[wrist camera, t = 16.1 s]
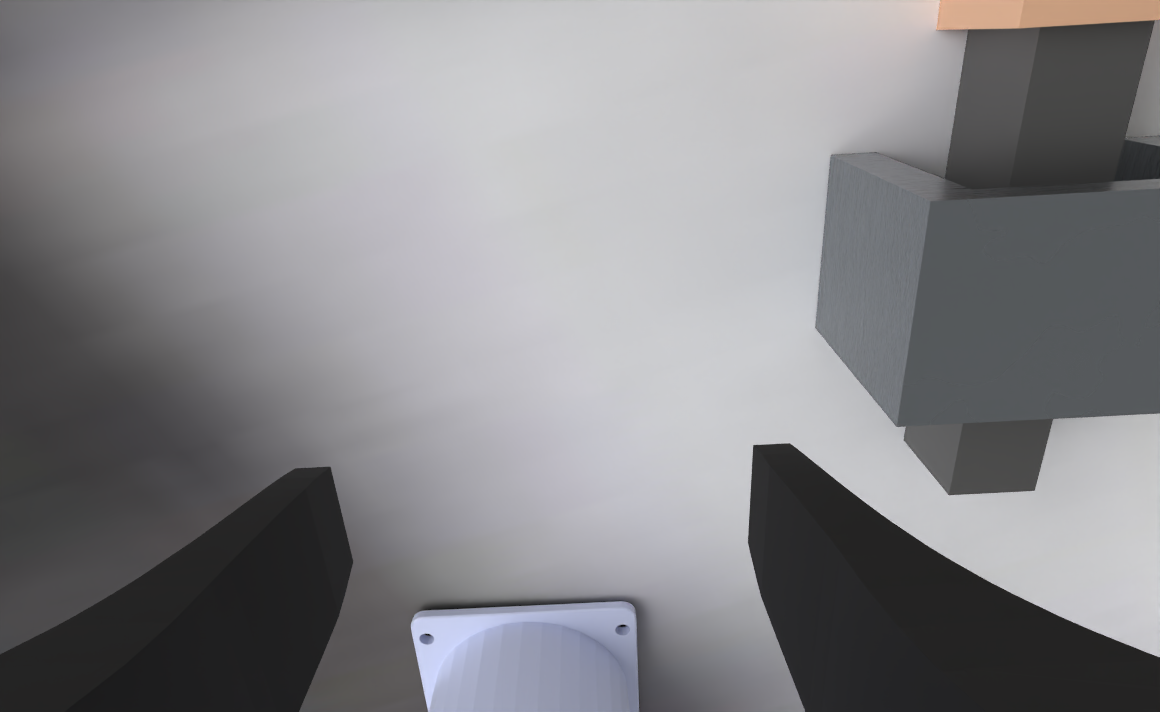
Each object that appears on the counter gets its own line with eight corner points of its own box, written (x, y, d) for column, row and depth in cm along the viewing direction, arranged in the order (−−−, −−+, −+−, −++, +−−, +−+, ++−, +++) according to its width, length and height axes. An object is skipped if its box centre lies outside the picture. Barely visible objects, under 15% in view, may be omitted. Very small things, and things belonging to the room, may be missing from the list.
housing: (1184, 308, 21) (1392, 401, 15) (815, 328, 21) (896, 426, 16) (1241, 131, 19) (1504, 168, 13) (830, 155, 19) (930, 201, 14)
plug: (1004, 434, 23) (1076, 502, 19) (878, 440, 23) (930, 509, 19) (1150, -220, 16) (1304, -288, 12) (969, -208, 16) (1074, -273, 12)
